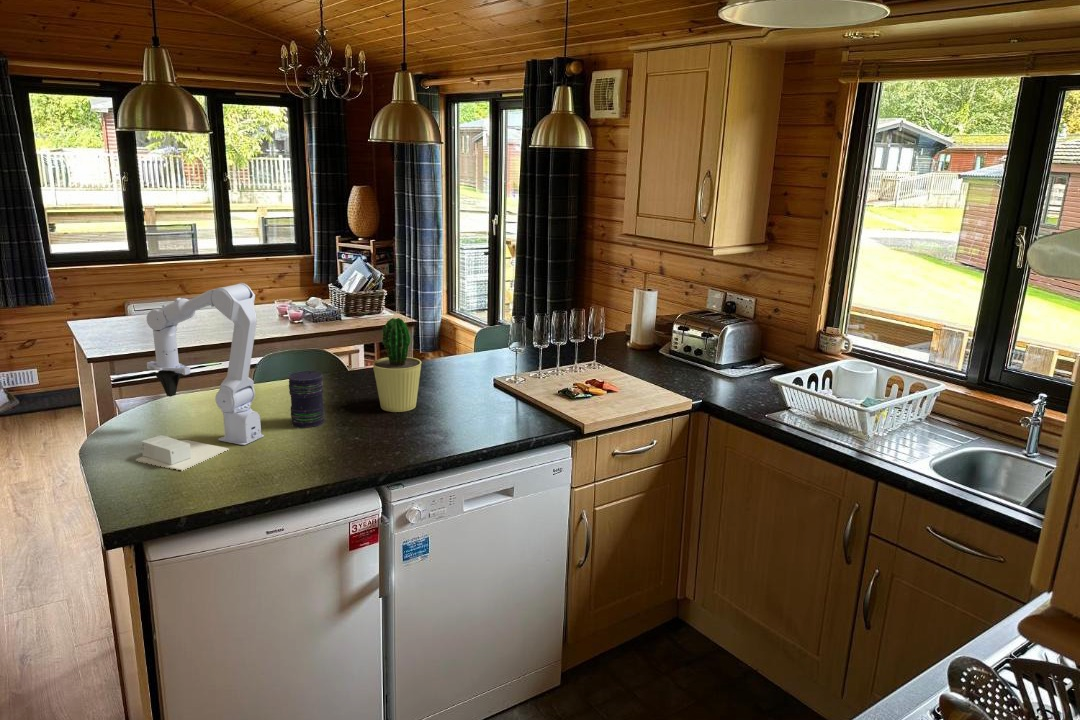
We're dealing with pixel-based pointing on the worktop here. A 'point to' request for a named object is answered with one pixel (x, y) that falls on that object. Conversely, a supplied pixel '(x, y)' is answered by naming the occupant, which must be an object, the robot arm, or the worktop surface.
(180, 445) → the skincare box
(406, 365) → the potted cactus
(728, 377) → the worktop surface
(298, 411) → the storage jar
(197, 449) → the mat
